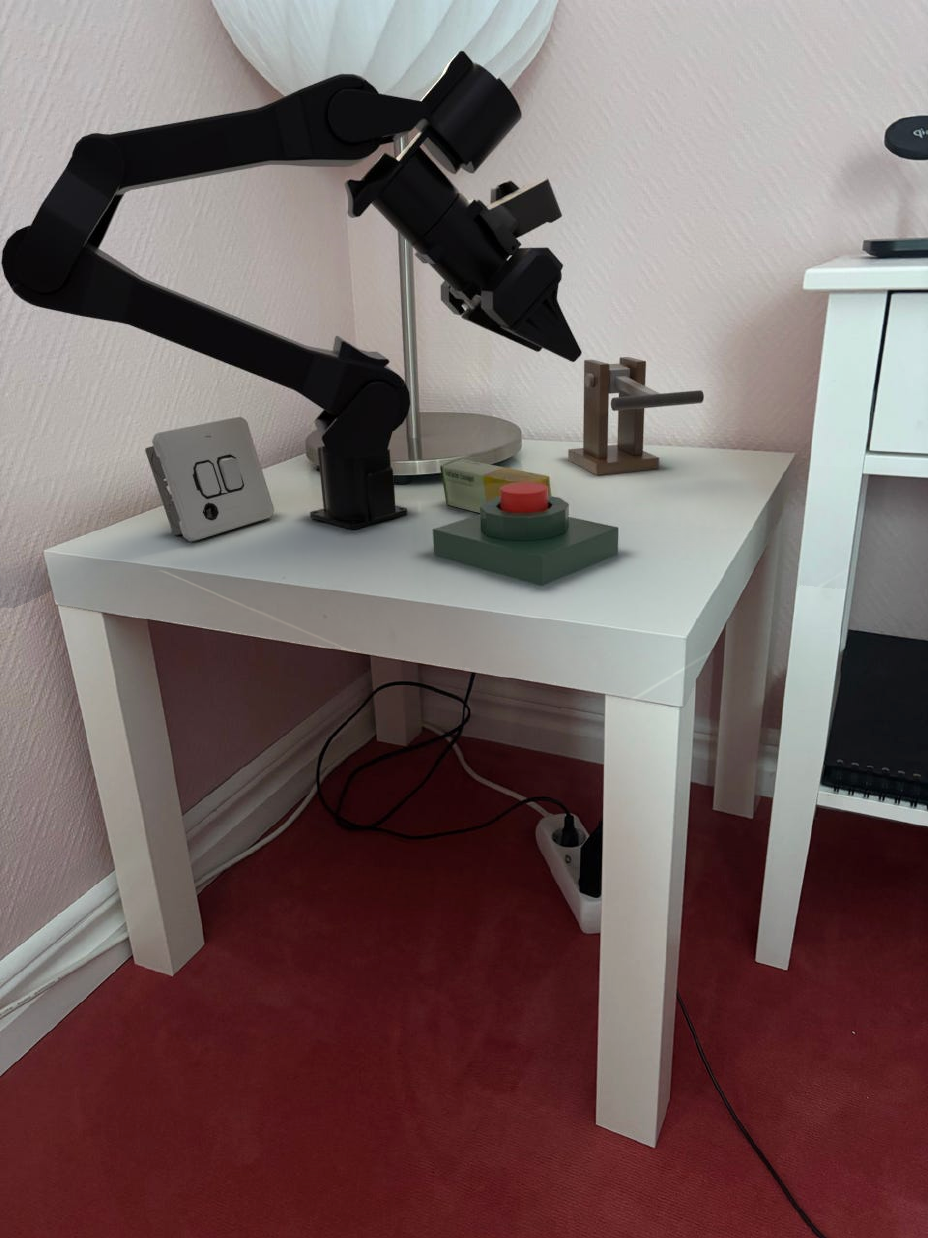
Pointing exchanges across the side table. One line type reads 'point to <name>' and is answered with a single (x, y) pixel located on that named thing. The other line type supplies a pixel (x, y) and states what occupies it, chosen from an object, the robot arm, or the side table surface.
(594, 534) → the button box
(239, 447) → the electrical switch
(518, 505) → the button
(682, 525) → the side table surface
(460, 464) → the medication box
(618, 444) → the bracket
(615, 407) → the lever
